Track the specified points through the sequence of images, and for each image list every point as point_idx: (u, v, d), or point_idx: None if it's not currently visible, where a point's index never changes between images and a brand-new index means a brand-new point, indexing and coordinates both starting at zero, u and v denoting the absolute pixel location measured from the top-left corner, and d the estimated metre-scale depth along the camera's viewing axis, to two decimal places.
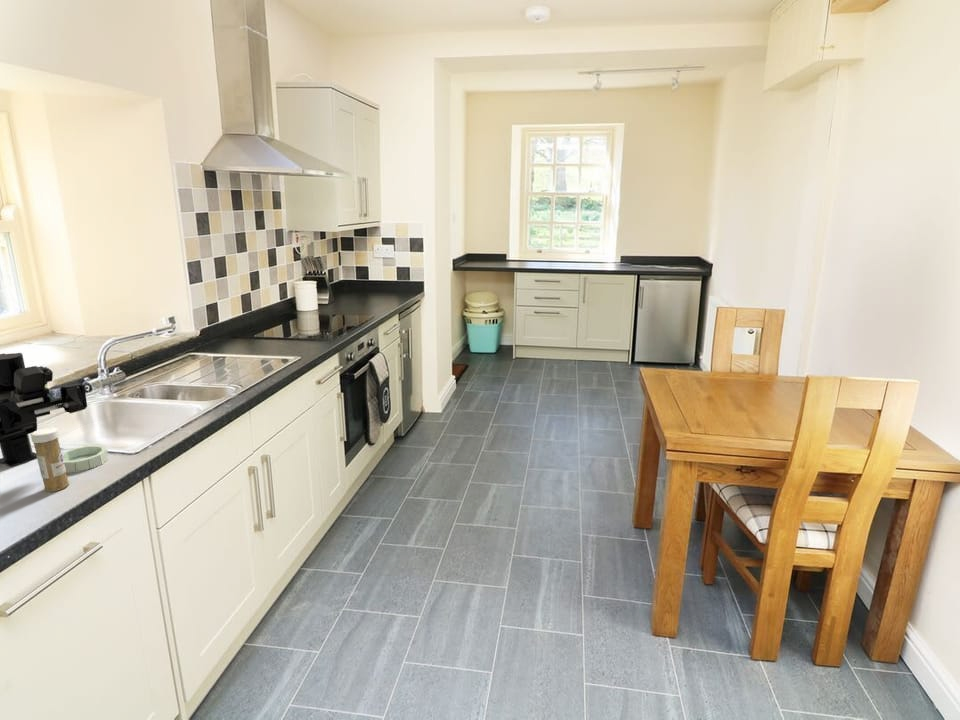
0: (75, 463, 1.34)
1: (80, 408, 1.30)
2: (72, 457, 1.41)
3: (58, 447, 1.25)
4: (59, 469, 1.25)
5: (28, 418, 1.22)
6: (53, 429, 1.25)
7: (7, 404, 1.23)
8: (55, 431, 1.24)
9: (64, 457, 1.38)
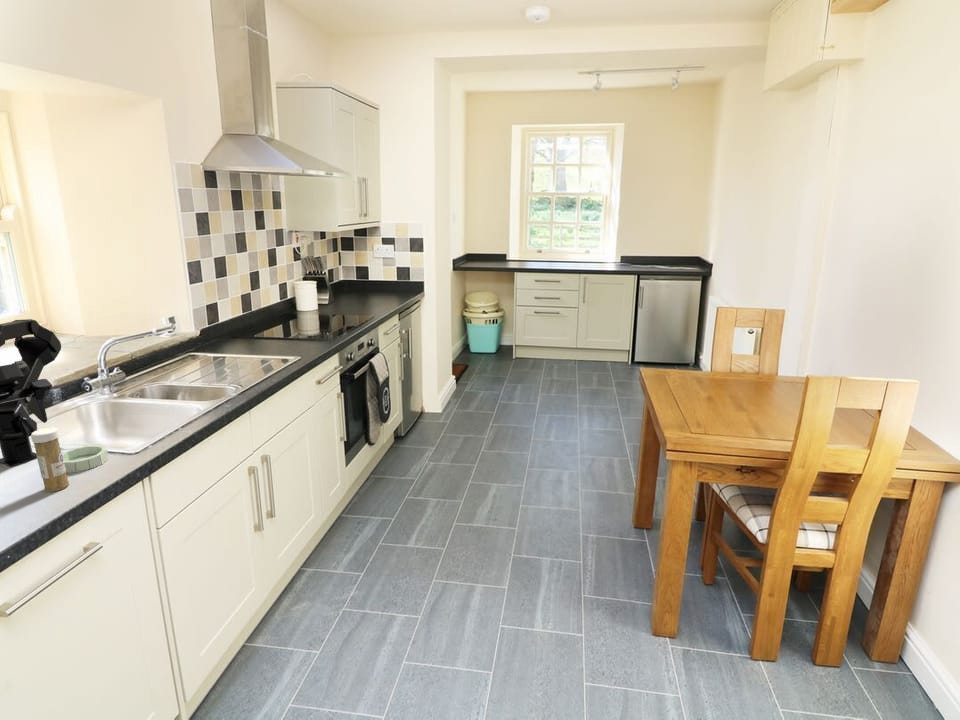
0: (75, 463, 1.34)
1: (43, 421, 1.31)
2: (72, 457, 1.41)
3: (58, 447, 1.25)
4: (59, 469, 1.25)
5: None
6: (53, 429, 1.25)
7: None
8: (55, 431, 1.24)
9: (64, 457, 1.38)
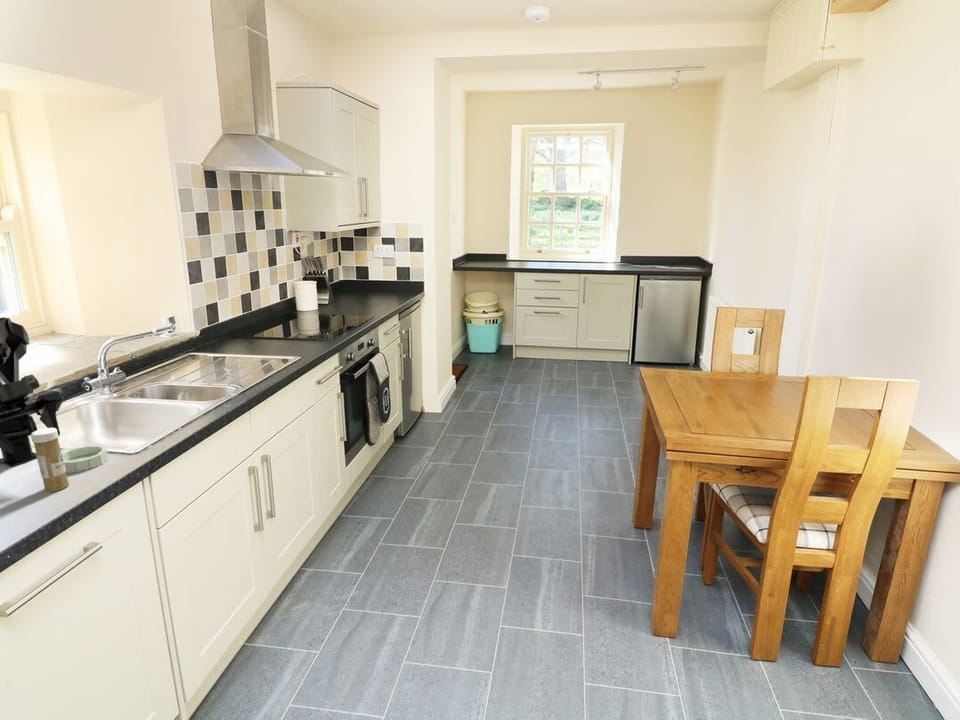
0: (75, 463, 1.34)
1: None
2: (72, 457, 1.41)
3: (58, 447, 1.25)
4: (59, 469, 1.25)
5: (5, 446, 1.21)
6: (53, 429, 1.25)
7: None
8: (55, 431, 1.24)
9: (64, 457, 1.38)
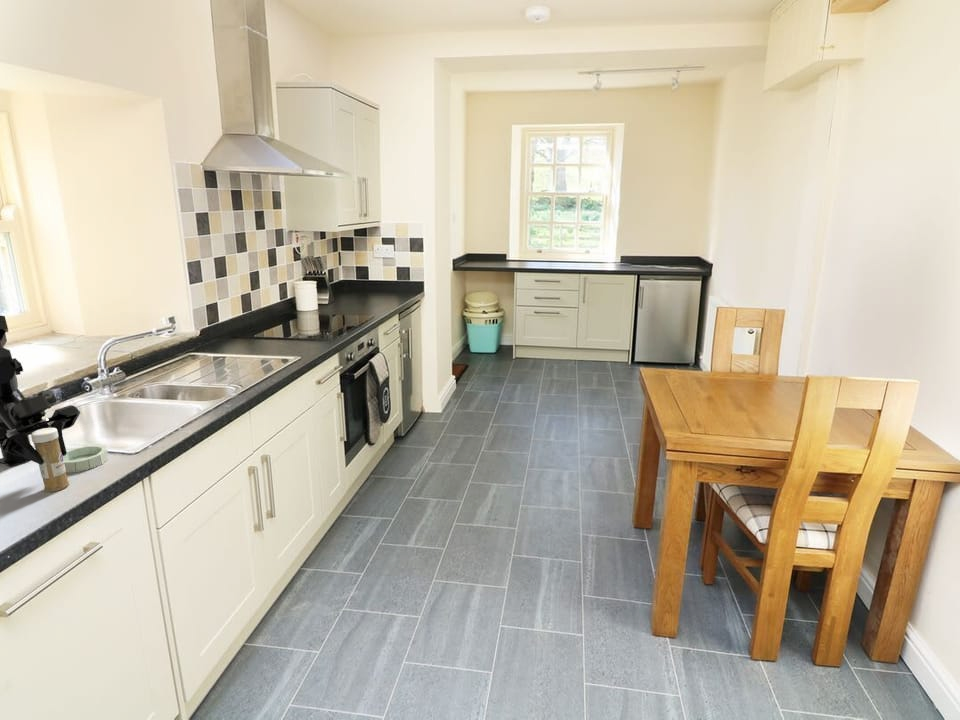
0: (75, 463, 1.34)
1: (62, 454, 1.27)
2: (72, 457, 1.41)
3: (58, 447, 1.25)
4: (59, 469, 1.25)
5: (35, 459, 1.22)
6: (53, 429, 1.25)
7: (17, 437, 1.20)
8: (55, 431, 1.24)
9: (64, 457, 1.38)
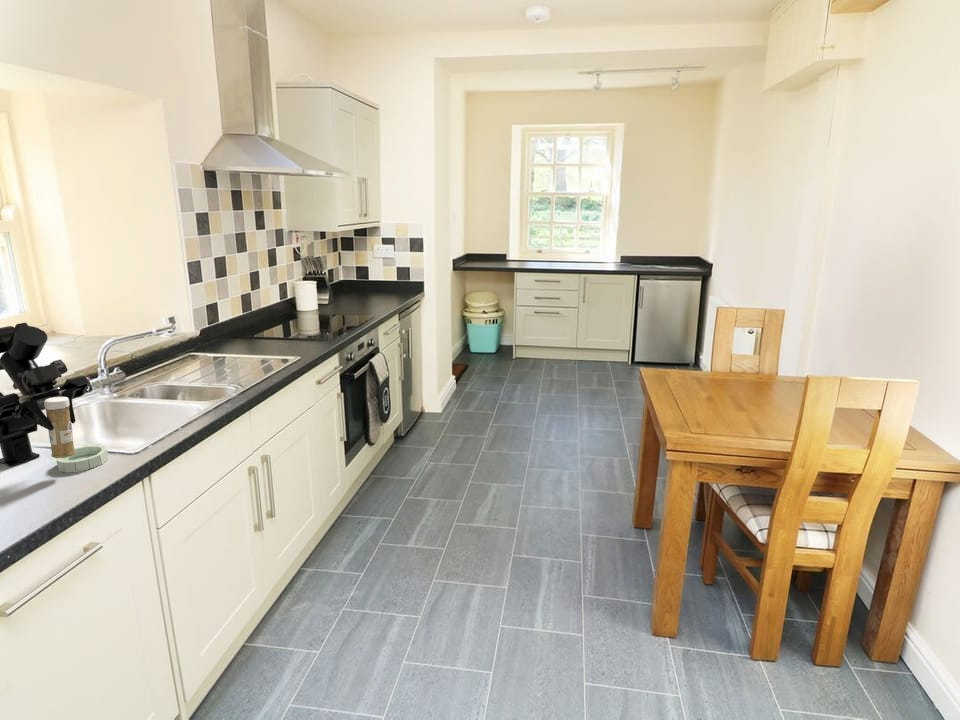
0: (75, 463, 1.34)
1: (72, 421, 1.32)
2: (72, 457, 1.41)
3: (68, 415, 1.31)
4: (67, 436, 1.31)
5: (45, 424, 1.28)
6: (65, 398, 1.30)
7: (29, 403, 1.26)
8: (67, 400, 1.30)
9: None
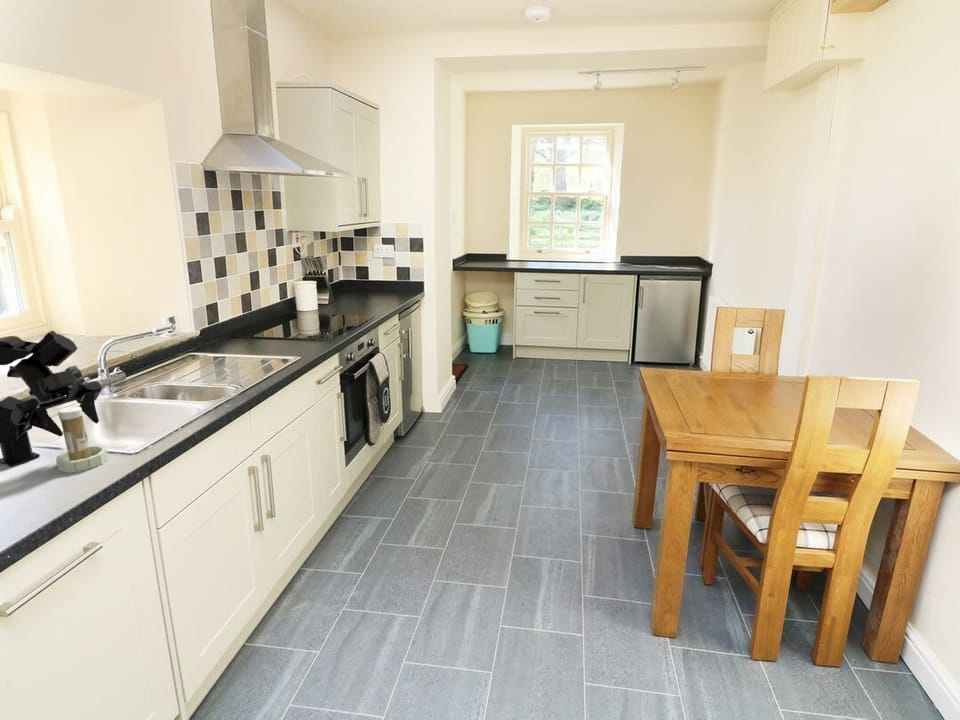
0: (75, 463, 1.34)
1: (95, 422, 1.40)
2: None
3: (82, 424, 1.37)
4: (83, 444, 1.37)
5: (54, 431, 1.32)
6: (78, 407, 1.36)
7: (39, 410, 1.30)
8: (80, 409, 1.36)
9: (64, 457, 1.38)
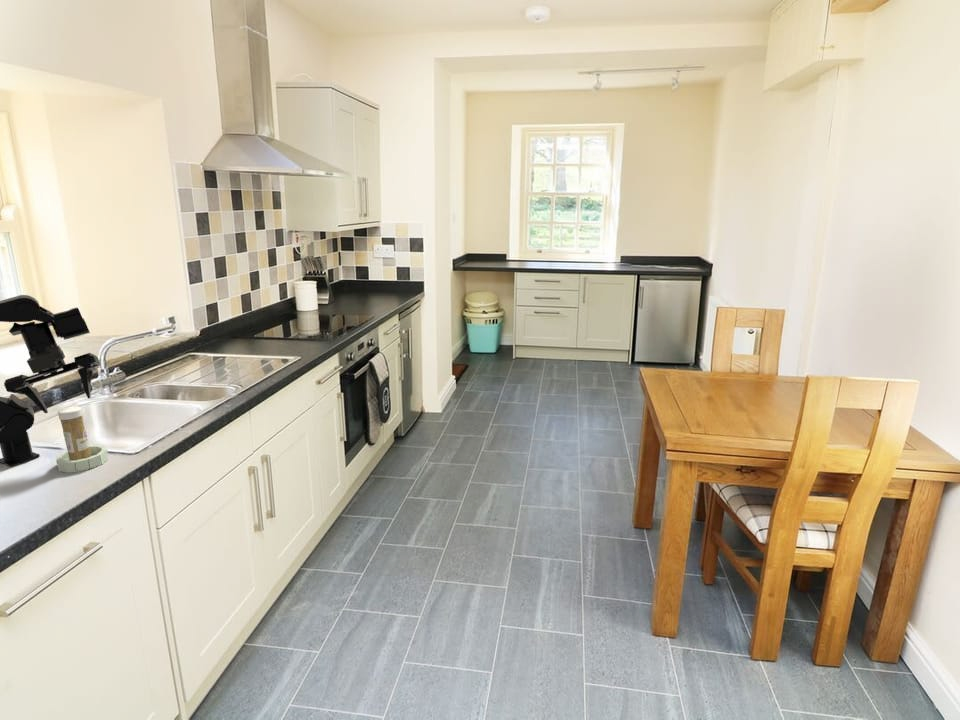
0: (75, 463, 1.34)
1: (88, 396, 1.42)
2: None
3: (82, 424, 1.37)
4: (83, 444, 1.37)
5: None
6: (78, 407, 1.36)
7: (22, 390, 1.35)
8: (80, 409, 1.36)
9: (64, 457, 1.38)
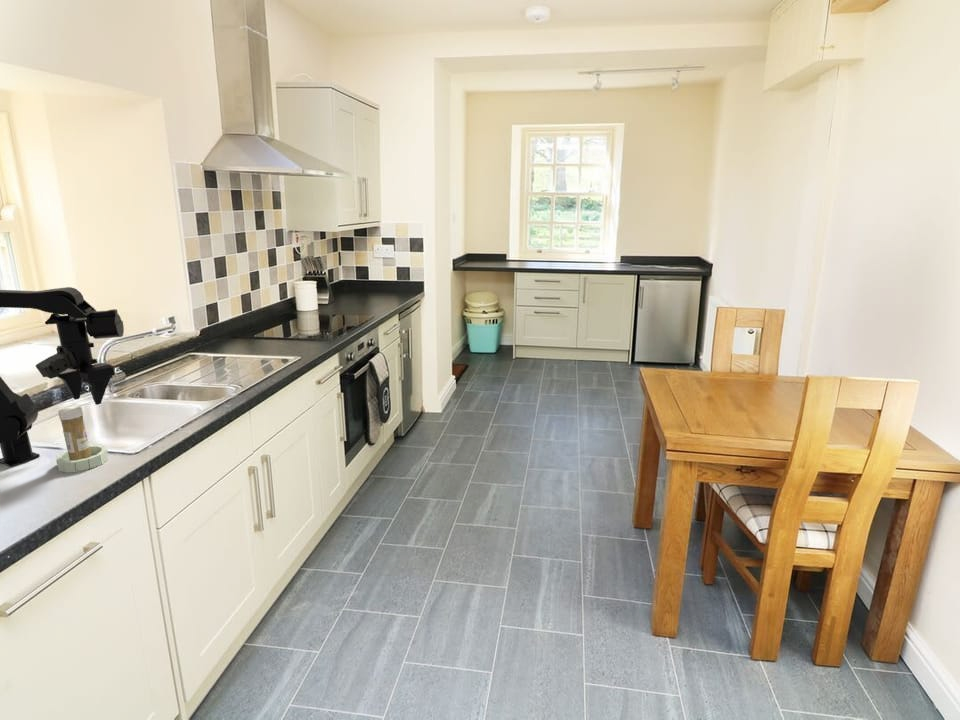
0: (75, 463, 1.34)
1: None
2: None
3: (83, 424, 1.37)
4: (83, 444, 1.37)
5: None
6: (78, 407, 1.36)
7: (56, 376, 1.42)
8: (80, 409, 1.36)
9: (64, 457, 1.38)
